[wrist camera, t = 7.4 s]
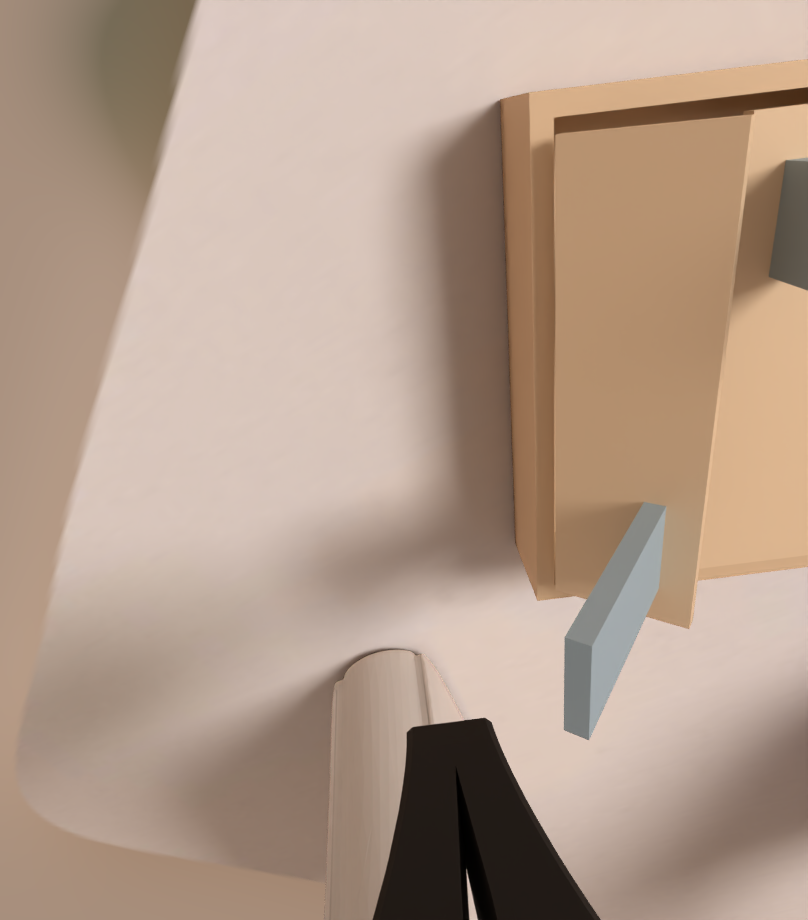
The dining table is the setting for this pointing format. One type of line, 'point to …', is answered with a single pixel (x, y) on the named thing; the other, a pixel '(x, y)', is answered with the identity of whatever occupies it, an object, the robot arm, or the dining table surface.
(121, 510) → the dining table surface
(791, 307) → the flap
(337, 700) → the photo printer
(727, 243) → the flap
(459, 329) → the dining table surface
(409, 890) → the robot arm
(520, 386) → the carton
